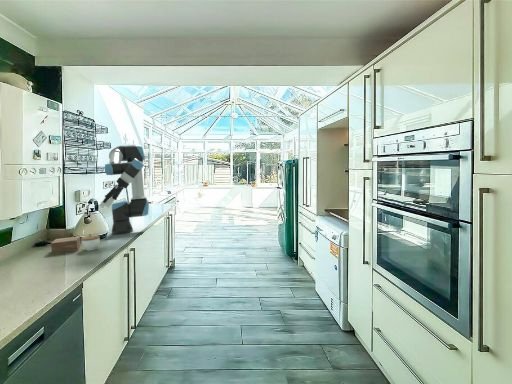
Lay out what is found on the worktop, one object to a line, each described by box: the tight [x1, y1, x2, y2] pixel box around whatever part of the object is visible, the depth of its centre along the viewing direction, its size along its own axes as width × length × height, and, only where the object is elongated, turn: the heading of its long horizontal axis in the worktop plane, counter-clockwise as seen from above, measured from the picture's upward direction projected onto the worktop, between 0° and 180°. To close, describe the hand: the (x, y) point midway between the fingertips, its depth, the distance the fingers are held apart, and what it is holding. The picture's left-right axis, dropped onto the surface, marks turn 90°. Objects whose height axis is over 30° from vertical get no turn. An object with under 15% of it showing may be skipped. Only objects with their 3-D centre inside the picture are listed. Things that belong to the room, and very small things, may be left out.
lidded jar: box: [80, 234, 101, 252], centre depth 241 cm, size 11×11×9 cm
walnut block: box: [50, 236, 82, 255], centre depth 244 cm, size 14×14×7 cm
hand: (103, 206), depth 252 cm, fingers open, 13 cm apart
